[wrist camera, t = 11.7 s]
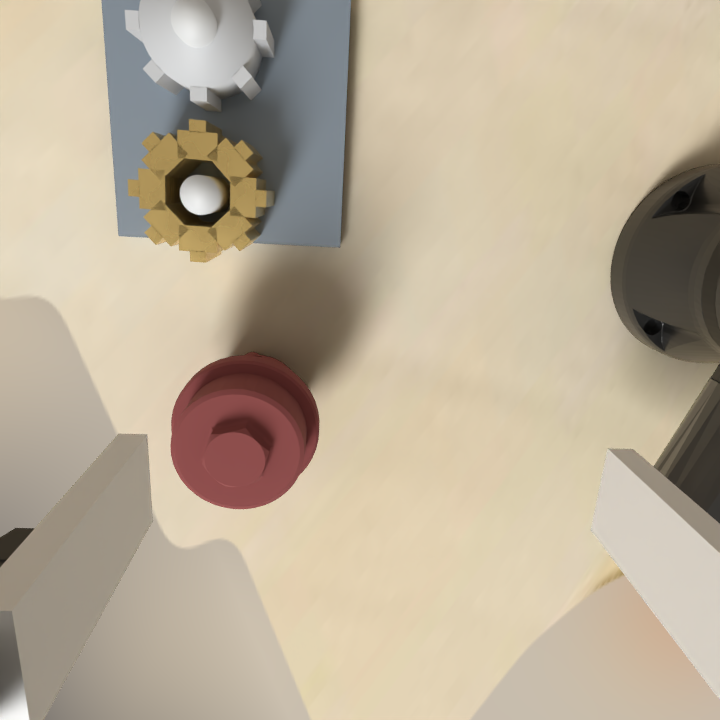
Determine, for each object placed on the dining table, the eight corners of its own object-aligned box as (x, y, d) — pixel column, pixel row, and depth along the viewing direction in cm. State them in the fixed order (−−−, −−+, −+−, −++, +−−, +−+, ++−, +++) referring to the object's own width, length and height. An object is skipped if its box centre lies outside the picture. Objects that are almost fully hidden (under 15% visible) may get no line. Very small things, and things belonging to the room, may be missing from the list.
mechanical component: (216, 454, 46) (184, 343, 43) (332, 432, 46) (307, 320, 43) (177, 543, 35) (129, 400, 32) (331, 514, 35) (297, 367, 32)
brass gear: (276, 134, 38) (268, 126, 33) (272, 257, 40) (264, 266, 36) (151, 123, 37) (124, 113, 32) (155, 249, 40) (130, 256, 35)
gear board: (350, -7, 37) (354, -51, 30) (339, 245, 42) (341, 255, 35) (108, -27, 36) (56, -77, 29) (126, 234, 41) (85, 242, 34)
